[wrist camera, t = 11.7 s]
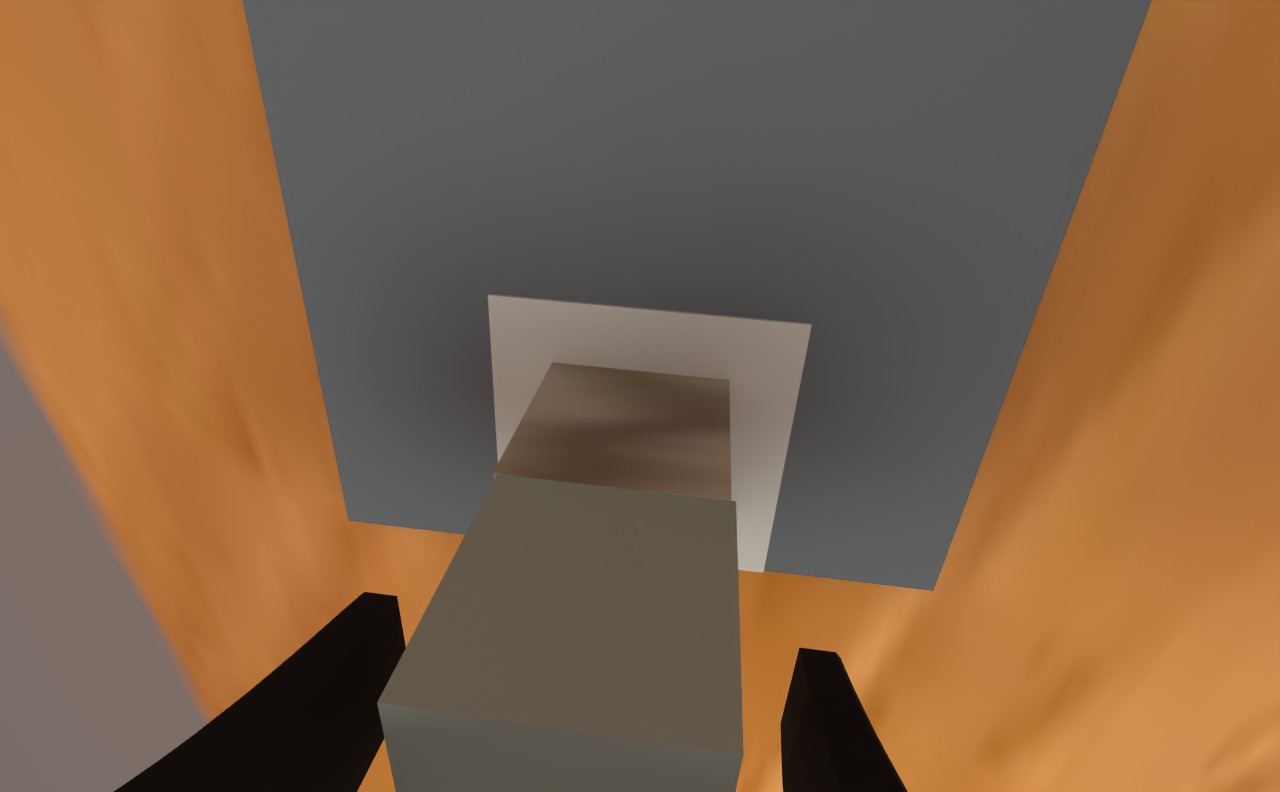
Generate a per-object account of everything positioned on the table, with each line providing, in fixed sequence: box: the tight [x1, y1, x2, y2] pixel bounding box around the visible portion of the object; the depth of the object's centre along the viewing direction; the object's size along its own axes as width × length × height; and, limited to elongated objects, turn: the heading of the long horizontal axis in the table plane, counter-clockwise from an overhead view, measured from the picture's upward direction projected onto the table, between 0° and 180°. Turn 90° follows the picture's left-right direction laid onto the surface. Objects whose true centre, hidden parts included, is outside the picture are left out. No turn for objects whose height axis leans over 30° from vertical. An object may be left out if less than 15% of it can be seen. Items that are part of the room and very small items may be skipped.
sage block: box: [377, 474, 743, 792], centre depth 11 cm, size 5×5×5 cm
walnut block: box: [493, 362, 732, 501], centre depth 16 cm, size 5×5×5 cm
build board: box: [243, 0, 1152, 591], centre depth 17 cm, size 18×15×1 cm
